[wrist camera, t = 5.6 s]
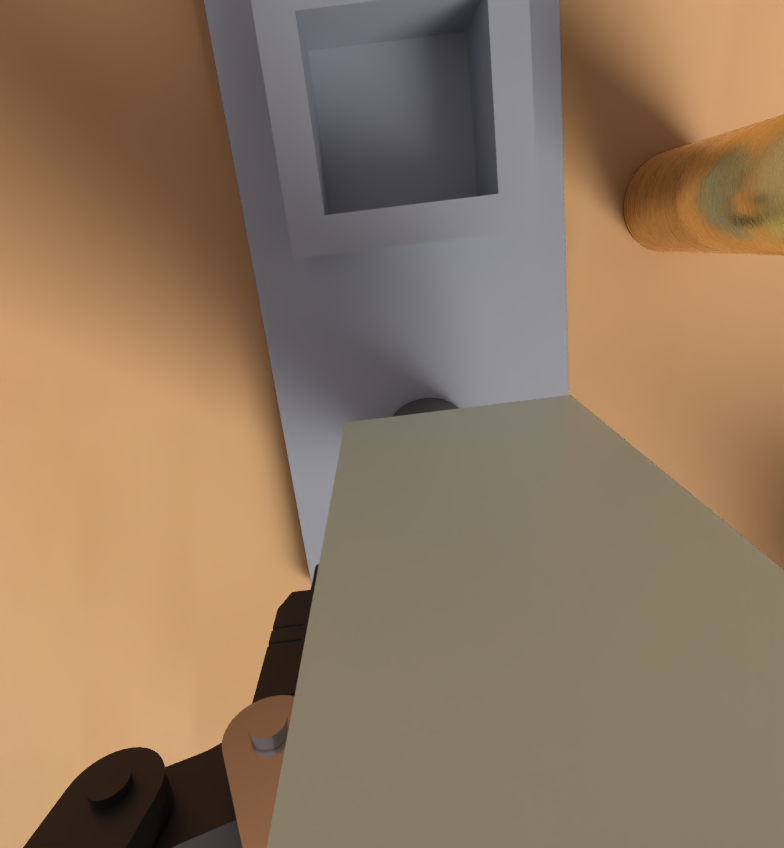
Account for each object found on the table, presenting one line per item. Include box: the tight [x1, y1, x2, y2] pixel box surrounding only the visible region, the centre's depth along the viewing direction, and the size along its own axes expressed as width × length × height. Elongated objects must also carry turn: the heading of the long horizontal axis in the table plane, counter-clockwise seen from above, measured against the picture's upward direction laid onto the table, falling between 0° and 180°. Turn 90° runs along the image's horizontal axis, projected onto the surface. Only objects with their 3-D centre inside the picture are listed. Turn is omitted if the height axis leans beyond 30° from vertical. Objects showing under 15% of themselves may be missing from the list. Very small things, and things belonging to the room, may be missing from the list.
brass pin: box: [624, 115, 784, 255], centre depth 15 cm, size 3×3×9 cm
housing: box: [267, 395, 784, 848], centre depth 9 cm, size 6×6×12 cm
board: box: [204, 0, 569, 585], centre depth 15 cm, size 10×22×10 cm, turn 7°
